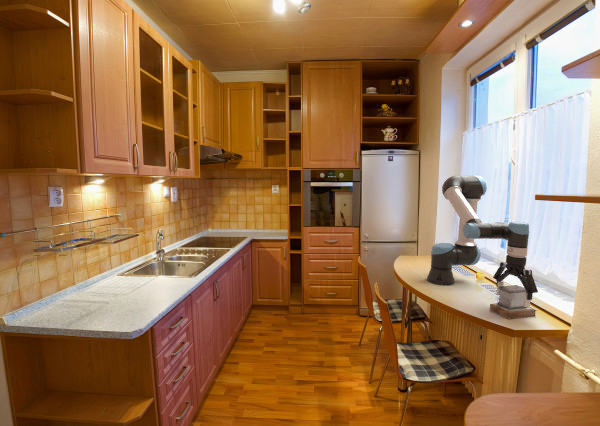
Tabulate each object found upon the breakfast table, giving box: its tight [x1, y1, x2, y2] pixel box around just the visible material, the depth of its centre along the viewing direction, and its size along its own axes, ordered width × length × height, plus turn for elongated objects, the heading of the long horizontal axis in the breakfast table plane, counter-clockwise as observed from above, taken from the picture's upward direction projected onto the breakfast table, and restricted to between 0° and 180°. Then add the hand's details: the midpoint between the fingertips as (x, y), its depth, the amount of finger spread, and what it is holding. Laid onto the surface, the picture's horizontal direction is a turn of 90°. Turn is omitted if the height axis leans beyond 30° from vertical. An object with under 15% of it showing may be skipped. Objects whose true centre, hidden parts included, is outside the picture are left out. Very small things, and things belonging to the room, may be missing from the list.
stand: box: [489, 302, 537, 320], centre depth 139 cm, size 10×15×3 cm, turn 103°
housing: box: [496, 284, 527, 310], centre depth 139 cm, size 6×10×9 cm, turn 103°
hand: (512, 300), depth 139 cm, fingers open, 13 cm apart
